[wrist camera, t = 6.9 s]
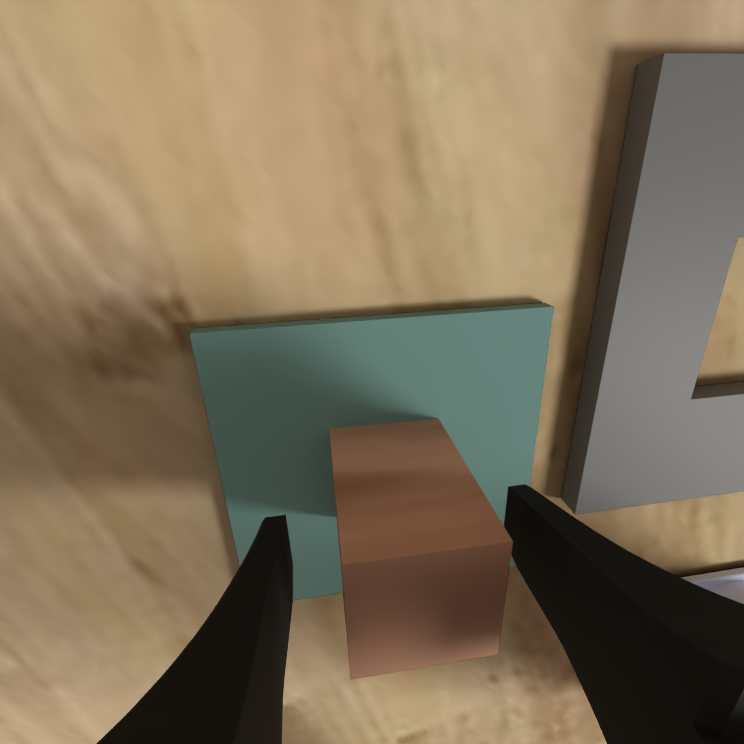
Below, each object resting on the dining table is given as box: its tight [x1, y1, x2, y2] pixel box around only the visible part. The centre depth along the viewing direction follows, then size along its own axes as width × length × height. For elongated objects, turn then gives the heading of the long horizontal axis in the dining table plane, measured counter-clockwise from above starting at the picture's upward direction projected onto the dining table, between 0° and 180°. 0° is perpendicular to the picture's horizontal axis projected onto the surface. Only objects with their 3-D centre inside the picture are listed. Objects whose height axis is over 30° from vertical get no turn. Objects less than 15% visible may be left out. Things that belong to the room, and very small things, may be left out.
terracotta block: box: [330, 418, 513, 680], centre depth 13 cm, size 4×4×6 cm
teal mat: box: [189, 303, 554, 600], centre depth 16 cm, size 12×12×1 cm
